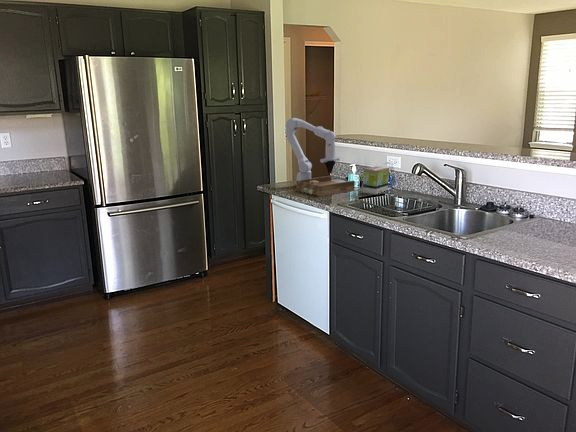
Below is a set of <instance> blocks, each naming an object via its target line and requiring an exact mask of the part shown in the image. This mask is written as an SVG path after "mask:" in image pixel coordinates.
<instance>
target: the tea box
mask: <svg viewBox="0 0 576 432" xmlns="http://www.w3.org/2000/svg"><path fill="white" fill-rule="evenodd" d="M362 178H363V179H362V181H363V182H362V193H363V194H370V195H376V194H377V195H378V193H379V194H382V193H385V192H387V191H386V190H389V183H388V180H389V179H390V167H387V166H377V165H376V166H375V165H374V166H371V167H370V166H369V167H367V168H363V177H362ZM389 181H390V180H389ZM384 191H385V192H384ZM381 192H382V193H381Z"/></svg>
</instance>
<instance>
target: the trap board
mask: <svg viewBox="0 0 576 432" xmlns="http://www.w3.org/2000/svg"><path fill="white" fill-rule="evenodd" d="M313 180H316V181H319V185H314V184H310V181H313ZM355 184H356V182H355V180H349V181H342V182H339V181H333V180H332V175H329V176H327V175H326V176H322V177H321V176H320V177H315V178H311V179H307V180H300V181H297V180H296V185H297V186H296V191H297V192H301V193H304V192H305V194H308V193H309V195H312V194H313V195H312V196H316V195H317V197H320V196H321V197H324V196H325V195H326V196H331V194H332V195H336V194H341V193H348V192H353V191H355Z"/></svg>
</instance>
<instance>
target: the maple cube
mask: <svg viewBox="0 0 576 432" xmlns="http://www.w3.org/2000/svg"><path fill="white" fill-rule="evenodd" d="M310 184H314V185H319V181H316V180H313V181H310Z"/></svg>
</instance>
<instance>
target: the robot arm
mask: <svg viewBox="0 0 576 432" xmlns="http://www.w3.org/2000/svg"><path fill="white" fill-rule="evenodd" d="M298 128H303V129H307V130H309V131H311V132H313V133H314V135H315V136H317V137H319V138H321V139H324V140H325V157H324V158H320V160H319V161H320V163H321V164H323V163H324V164H325V165H324V166H325V167H326V169H327V173H328V174H332V173H333V169H334V167H335V165H336V164H337V161H339V162H340V159H341V158H340V157H336V152H335V151H336V141H335V140H336V137H337V135H336V133H335V132H334V131H332V130H330V129H326V128H324V127H323V126H322V125H320V126H319V125H318V126H314V124H311V123H310V122H308V121H305V120H303V119H301V118H297V117H292V118H288V119H287V121H286V123H285V137H286V138H287V141H288V143H289V145H290V147H291V149H292V151H293V153H294V155H295V157H296V160H297V166H298V170H299V172H297V174H296V182H297V181H300V180H307V179H312V171H311V170H312V168H313V164H312V162H311V161H309V159H308V158H307V156H305V154H304V152H303V149H302V147H301V145H300V142H299V141H298V139H297V137H296V135H295V133H296V132H297V129H298ZM295 186H296V187H297V184H295Z"/></svg>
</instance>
